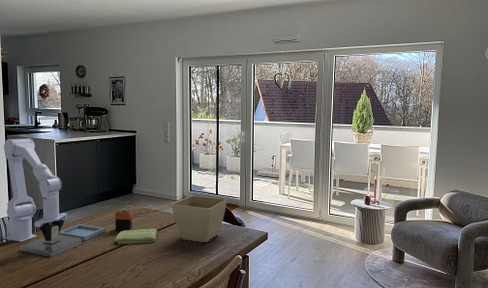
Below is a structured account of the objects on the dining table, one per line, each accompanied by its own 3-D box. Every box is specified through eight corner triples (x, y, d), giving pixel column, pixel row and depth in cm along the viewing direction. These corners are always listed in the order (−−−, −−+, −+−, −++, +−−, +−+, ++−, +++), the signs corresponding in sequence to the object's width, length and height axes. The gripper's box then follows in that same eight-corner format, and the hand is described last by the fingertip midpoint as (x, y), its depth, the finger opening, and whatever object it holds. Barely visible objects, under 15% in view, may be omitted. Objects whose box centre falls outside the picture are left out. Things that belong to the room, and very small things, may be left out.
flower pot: (170, 240, 165) (170, 203, 163) (192, 228, 182) (192, 194, 181) (208, 247, 158) (209, 208, 156) (227, 234, 175) (227, 199, 174)
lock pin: (45, 247, 152) (44, 226, 151) (52, 244, 156) (51, 224, 155) (51, 249, 151) (51, 227, 150) (58, 246, 154) (58, 225, 154)
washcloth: (118, 235, 171) (118, 228, 170) (157, 234, 174) (157, 227, 173) (113, 245, 158) (113, 238, 157) (156, 244, 161) (156, 236, 161)
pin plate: (20, 250, 148) (20, 246, 148) (52, 238, 163) (52, 233, 163) (51, 256, 143) (51, 251, 143) (81, 243, 158) (81, 238, 158)
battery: (129, 231, 175) (129, 210, 174) (115, 231, 175) (115, 210, 174) (132, 228, 180) (132, 208, 179) (118, 228, 179) (118, 208, 179)
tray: (58, 236, 166) (58, 232, 165) (79, 228, 178) (79, 224, 178) (85, 241, 161) (84, 236, 161) (105, 232, 173) (105, 228, 173)
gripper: (43, 212, 144) (44, 246, 145) (72, 204, 157) (72, 234, 159) (30, 210, 146) (31, 243, 147) (59, 202, 160) (60, 232, 161)
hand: (51, 239), depth 153 cm, fingers closed on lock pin, 4 cm apart
